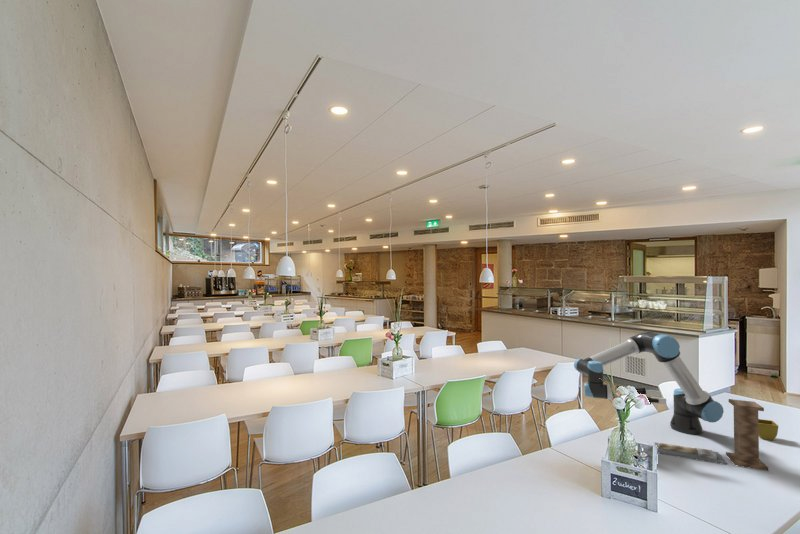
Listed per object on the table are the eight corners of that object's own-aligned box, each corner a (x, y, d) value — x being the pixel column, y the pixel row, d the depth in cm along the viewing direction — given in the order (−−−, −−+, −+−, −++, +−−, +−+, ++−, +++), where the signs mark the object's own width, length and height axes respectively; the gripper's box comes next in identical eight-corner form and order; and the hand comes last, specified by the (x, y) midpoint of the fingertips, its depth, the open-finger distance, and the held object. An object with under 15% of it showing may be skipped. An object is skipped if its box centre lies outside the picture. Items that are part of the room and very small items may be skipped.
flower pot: (757, 439, 212) (757, 422, 212) (752, 433, 220) (751, 417, 220) (779, 442, 208) (778, 425, 208) (772, 436, 216) (772, 420, 216)
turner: (660, 450, 196) (660, 446, 196) (657, 444, 202) (657, 440, 202) (716, 459, 186) (716, 455, 186) (712, 453, 193) (712, 449, 193)
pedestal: (735, 465, 181) (734, 405, 182) (725, 454, 192) (725, 398, 193) (768, 470, 177) (767, 408, 177) (757, 459, 188) (756, 401, 188)
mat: (659, 453, 193) (659, 452, 193) (654, 443, 205) (654, 442, 205) (727, 464, 182) (727, 463, 182) (718, 453, 194) (717, 452, 194)
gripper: (613, 393, 218) (658, 397, 210) (618, 407, 195) (669, 412, 187) (613, 380, 219) (658, 383, 210) (618, 392, 196) (668, 397, 187)
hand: (663, 397), depth 198 cm, fingers open, 13 cm apart
